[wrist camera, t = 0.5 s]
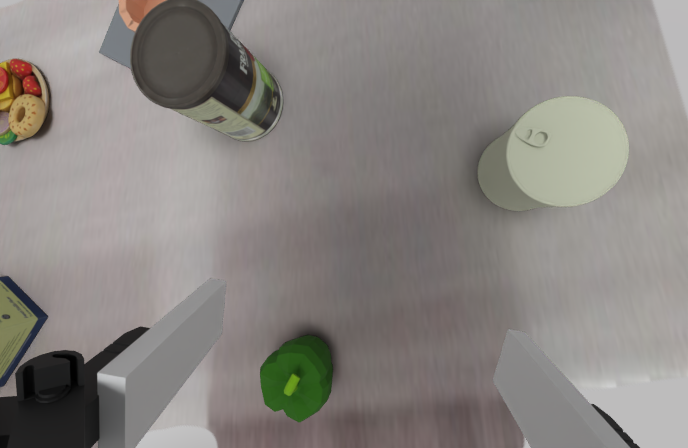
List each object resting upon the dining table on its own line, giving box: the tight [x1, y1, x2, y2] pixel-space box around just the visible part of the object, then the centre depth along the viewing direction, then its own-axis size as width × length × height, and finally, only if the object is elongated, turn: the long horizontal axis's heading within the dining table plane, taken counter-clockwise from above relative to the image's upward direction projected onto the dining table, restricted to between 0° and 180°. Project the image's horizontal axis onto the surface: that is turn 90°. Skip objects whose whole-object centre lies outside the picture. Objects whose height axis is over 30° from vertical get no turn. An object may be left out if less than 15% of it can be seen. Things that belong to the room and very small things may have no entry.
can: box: [478, 96, 629, 211], centre depth 32 cm, size 9×9×12 cm
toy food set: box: [0, 59, 49, 145], centre depth 51 cm, size 13×13×3 cm
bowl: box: [119, 0, 166, 32], centre depth 44 cm, size 9×9×4 cm
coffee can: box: [130, 0, 283, 141], centre depth 38 cm, size 10×10×14 cm
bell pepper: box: [260, 335, 333, 422], centre depth 38 cm, size 8×8×10 cm
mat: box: [99, 0, 243, 69], centre depth 46 cm, size 18×18×1 cm
